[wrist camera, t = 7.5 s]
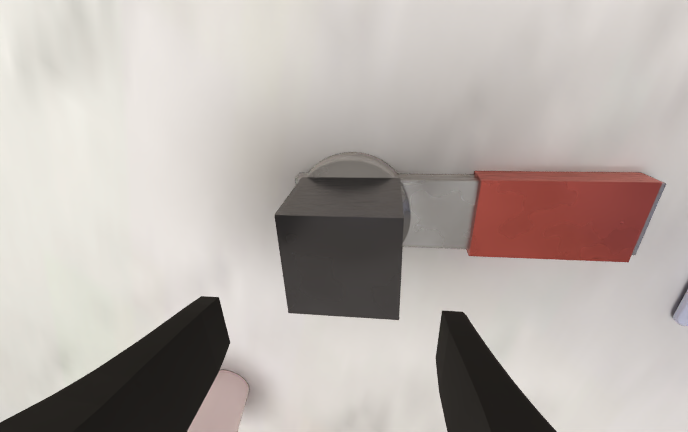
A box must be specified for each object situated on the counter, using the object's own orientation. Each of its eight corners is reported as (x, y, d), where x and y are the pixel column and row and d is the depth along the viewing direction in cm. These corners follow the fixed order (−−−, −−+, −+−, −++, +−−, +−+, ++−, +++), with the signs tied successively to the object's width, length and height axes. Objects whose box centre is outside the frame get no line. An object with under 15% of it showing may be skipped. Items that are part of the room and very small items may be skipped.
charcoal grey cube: (400, 177, 16) (404, 218, 12) (396, 262, 18) (398, 319, 14) (302, 177, 17) (274, 214, 13) (310, 258, 19) (288, 313, 15)
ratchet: (657, 152, 16) (740, 181, 12) (613, 261, 19) (669, 312, 15) (295, 151, 18) (270, 176, 14) (304, 249, 21) (286, 291, 17)
